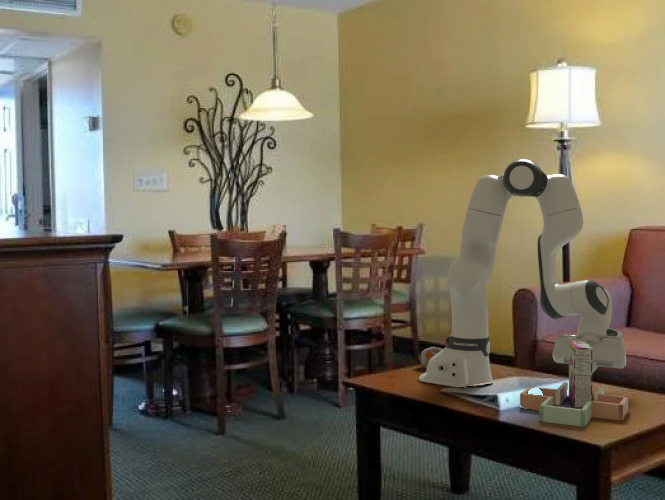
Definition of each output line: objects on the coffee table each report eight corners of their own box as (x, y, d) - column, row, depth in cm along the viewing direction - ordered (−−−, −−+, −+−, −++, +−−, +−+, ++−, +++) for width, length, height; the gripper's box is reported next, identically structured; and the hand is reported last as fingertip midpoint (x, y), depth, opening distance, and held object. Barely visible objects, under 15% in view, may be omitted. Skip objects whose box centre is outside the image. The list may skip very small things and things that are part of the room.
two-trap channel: (509, 417, 203) (510, 402, 202) (537, 393, 229) (537, 379, 229) (616, 430, 191) (617, 414, 190) (633, 403, 217) (633, 389, 217)
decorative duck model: (418, 345, 273) (462, 344, 270) (419, 367, 273) (463, 367, 269) (414, 348, 258) (460, 348, 255) (414, 371, 258) (461, 371, 255)
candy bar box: (567, 398, 223) (568, 340, 222) (585, 398, 223) (586, 340, 222) (573, 408, 212) (574, 347, 211) (592, 408, 212) (593, 347, 211)
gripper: (554, 327, 236) (547, 366, 228) (627, 332, 226) (622, 373, 218) (557, 340, 240) (550, 378, 232) (629, 346, 230) (624, 386, 222)
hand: (585, 376), depth 225 cm, fingers closed
